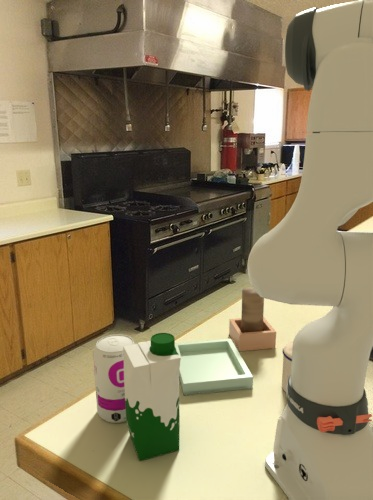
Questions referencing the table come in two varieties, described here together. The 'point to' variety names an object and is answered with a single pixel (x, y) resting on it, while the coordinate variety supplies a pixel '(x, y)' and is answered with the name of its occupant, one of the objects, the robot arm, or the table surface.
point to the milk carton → (152, 395)
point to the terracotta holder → (252, 336)
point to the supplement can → (110, 377)
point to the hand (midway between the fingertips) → (301, 228)
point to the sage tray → (212, 367)
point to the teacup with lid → (286, 364)
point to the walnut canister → (252, 311)
